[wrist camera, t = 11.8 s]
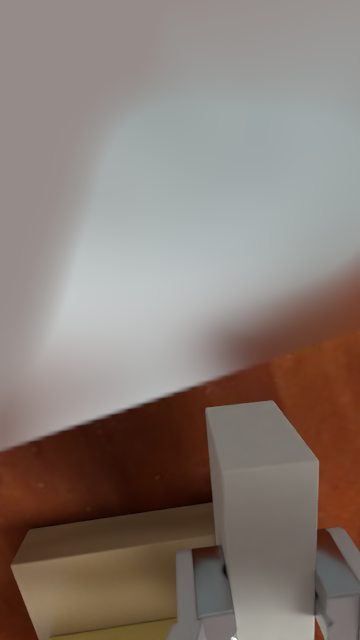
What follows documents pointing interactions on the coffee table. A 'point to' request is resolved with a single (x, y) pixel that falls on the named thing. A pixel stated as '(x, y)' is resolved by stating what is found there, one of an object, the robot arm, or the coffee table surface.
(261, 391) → the coffee table surface
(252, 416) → the knife
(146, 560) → the butter board
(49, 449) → the coffee table surface
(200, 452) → the coffee table surface
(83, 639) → the butter
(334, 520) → the coffee table surface
